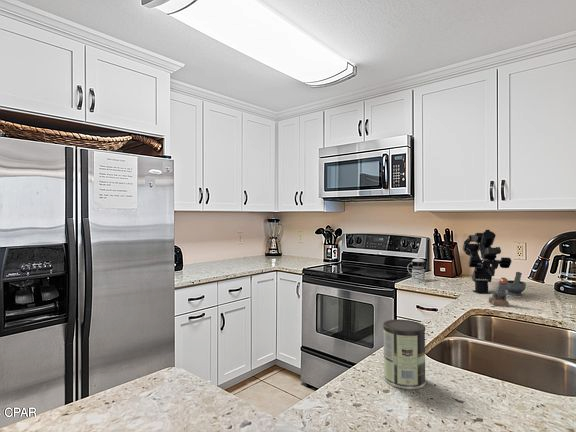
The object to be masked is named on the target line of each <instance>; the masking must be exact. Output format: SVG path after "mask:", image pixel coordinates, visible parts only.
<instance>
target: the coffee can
mask: <svg viewBox="0 0 576 432" xmlns="http://www.w3.org/2000/svg"><path fill="white" fill-rule="evenodd" d="M382 328H383V380H384V381H385V382H386V383H387V384H388V385H390V386H391V387H395V388H397V389H400V390H401V389H402V390H420V389H422V388H424V387H425V386H426V384H427V382H426V333H425V332H426V326H425V325H424V324H423V323H420V322H418V321H414V320H409V319H389V320H386V321H384V322H383V323H382Z"/></svg>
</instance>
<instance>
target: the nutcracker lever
mask: <svg viewBox="0 0 576 432" xmlns="http://www.w3.org/2000/svg"><path fill="white" fill-rule="evenodd" d="M507 281H508V279H507V278H506V277H501V278H500V280H498V285H497V289H496V293H495V294H496V299H503V298H504V295H505V294H506V291H507V290H506V287H507Z"/></svg>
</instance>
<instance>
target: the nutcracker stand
mask: <svg viewBox="0 0 576 432" xmlns="http://www.w3.org/2000/svg"><path fill="white" fill-rule="evenodd" d="M488 303H489V304H490V305H492V306H493V307H505V308H506V307H507V308H509V301H508V300H507V293H505V295H504V298H503V299H496V293H495V292H492V295H491V296H489V297H488Z"/></svg>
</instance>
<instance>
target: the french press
mask: <svg viewBox="0 0 576 432" xmlns="http://www.w3.org/2000/svg"><path fill="white" fill-rule="evenodd" d="M416 246H420V243H417V244H416ZM413 263H425V260H424V259H422V258H419V257H417V258H413V259H412V260H411V262H410V263H409V264H408V265H407V271H408V274H410V275H411V280H412V281H415V282H425V281H426V279H425V277H426V276H425V275H426V273H425V272H426V271H425V270H426V269H425V267H424V266H421V265H420V266H419V265H414V266H412V269H411V271H410V270H409V265H410V264H413Z"/></svg>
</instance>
